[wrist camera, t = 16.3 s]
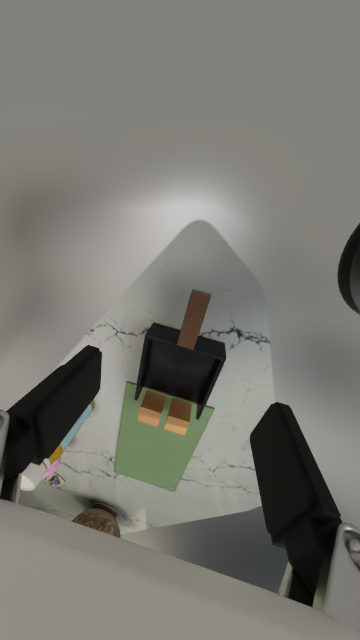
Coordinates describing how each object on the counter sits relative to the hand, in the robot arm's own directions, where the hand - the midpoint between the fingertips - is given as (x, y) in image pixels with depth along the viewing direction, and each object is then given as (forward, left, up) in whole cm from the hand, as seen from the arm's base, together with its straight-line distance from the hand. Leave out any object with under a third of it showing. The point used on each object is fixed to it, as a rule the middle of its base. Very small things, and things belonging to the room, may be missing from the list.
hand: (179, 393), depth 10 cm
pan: (+2, +9, -18) cm, 21 cm away
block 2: (+3, +21, -16) cm, 27 cm away
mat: (+10, +38, -18) cm, 43 cm away
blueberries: (+47, +65, -18) cm, 83 cm away
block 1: (+8, +20, -16) cm, 27 cm away
